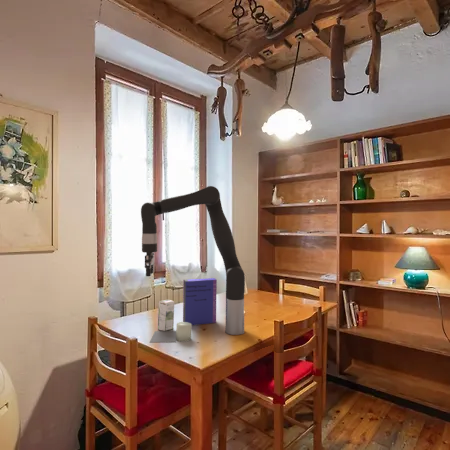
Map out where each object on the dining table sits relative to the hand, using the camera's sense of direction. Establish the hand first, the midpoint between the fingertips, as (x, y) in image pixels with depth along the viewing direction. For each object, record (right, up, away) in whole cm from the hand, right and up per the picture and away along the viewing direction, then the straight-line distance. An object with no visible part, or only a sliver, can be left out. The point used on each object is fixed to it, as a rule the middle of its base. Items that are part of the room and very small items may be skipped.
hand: (149, 274), depth 172 cm
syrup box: (+7, -29, +3) cm, 30 cm away
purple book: (+24, -29, +15) cm, 40 cm away
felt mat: (+9, -29, -8) cm, 31 cm away
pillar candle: (+18, -29, -10) cm, 35 cm away
